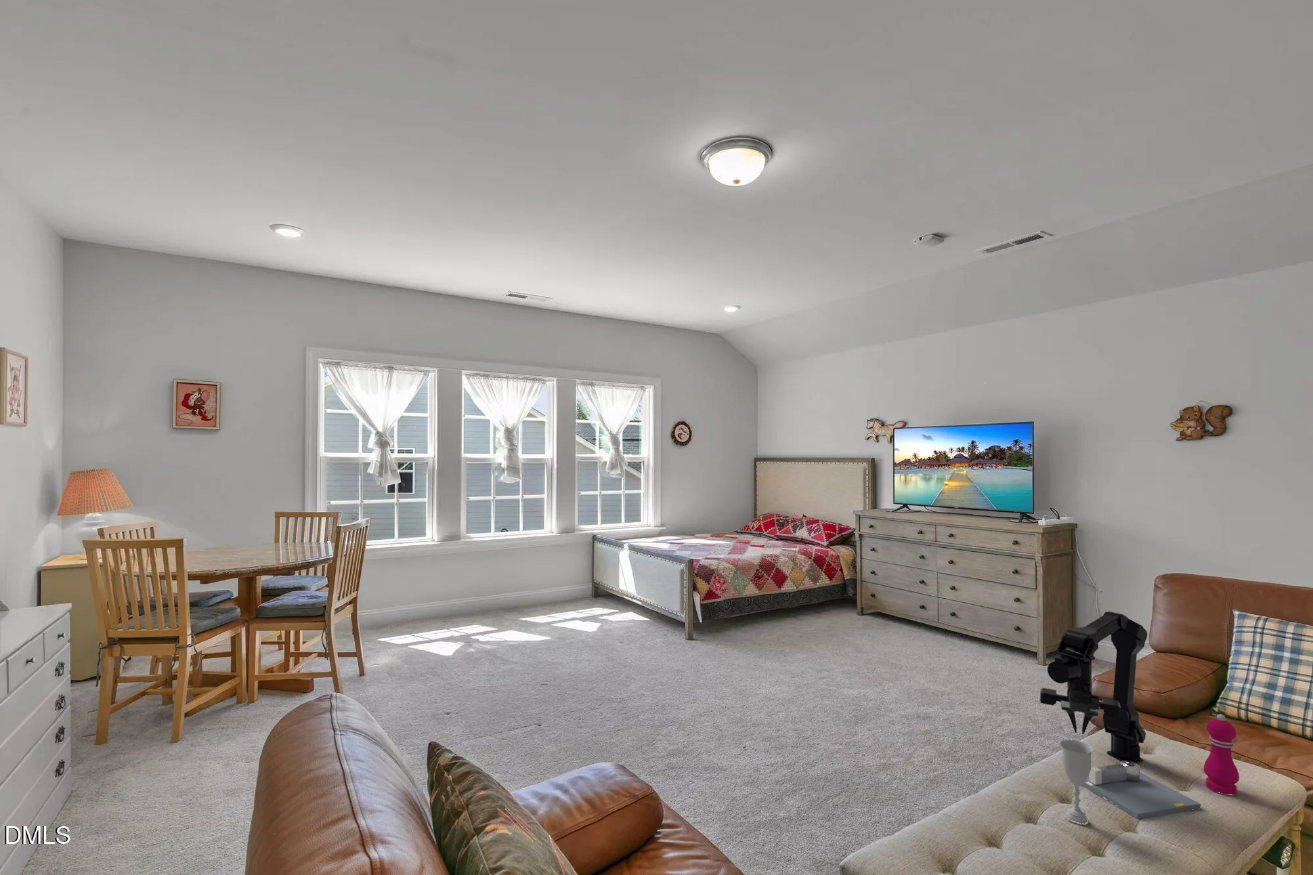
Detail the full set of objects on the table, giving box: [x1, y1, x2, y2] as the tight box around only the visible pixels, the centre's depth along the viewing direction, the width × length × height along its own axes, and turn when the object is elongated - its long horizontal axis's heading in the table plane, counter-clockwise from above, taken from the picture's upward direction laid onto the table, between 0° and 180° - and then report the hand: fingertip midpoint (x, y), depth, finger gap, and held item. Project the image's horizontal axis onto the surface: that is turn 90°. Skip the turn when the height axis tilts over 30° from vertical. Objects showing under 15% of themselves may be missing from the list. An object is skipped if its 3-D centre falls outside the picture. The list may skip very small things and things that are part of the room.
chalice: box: [1059, 739, 1094, 824], centre depth 160 cm, size 7×7×18 cm
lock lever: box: [1089, 760, 1141, 785], centre depth 176 cm, size 15×4×4 cm, turn 103°
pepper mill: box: [1203, 714, 1240, 795], centre depth 174 cm, size 7×7×20 cm
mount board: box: [1081, 771, 1202, 820], centre depth 173 cm, size 20×20×1 cm
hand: (1079, 732), depth 181 cm, fingers closed
